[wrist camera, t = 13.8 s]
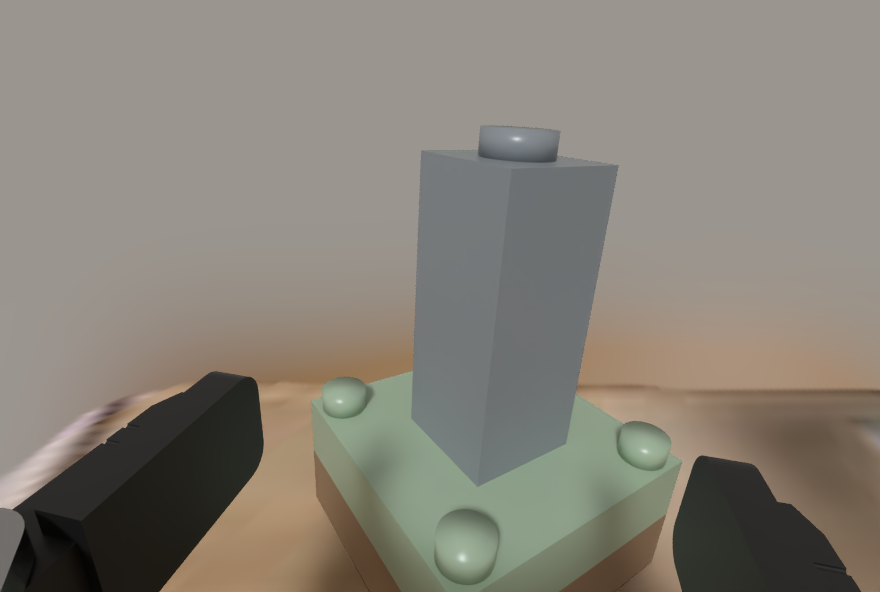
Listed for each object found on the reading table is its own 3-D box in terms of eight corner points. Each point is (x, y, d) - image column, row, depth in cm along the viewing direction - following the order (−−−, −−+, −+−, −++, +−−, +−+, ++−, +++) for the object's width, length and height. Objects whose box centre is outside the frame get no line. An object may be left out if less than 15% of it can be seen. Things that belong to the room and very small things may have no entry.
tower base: (490, 424, 32) (500, 330, 29) (651, 561, 23) (687, 442, 20) (316, 495, 25) (310, 382, 23) (444, 726, 16) (458, 582, 14)
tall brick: (493, 388, 25) (522, 125, 20) (566, 443, 21) (624, 135, 16) (411, 418, 22) (422, 121, 17) (477, 487, 18) (515, 132, 14)
